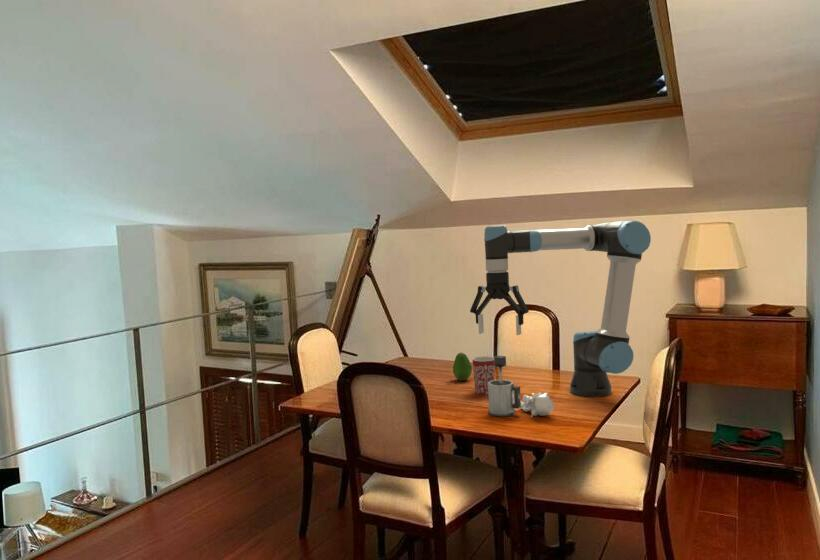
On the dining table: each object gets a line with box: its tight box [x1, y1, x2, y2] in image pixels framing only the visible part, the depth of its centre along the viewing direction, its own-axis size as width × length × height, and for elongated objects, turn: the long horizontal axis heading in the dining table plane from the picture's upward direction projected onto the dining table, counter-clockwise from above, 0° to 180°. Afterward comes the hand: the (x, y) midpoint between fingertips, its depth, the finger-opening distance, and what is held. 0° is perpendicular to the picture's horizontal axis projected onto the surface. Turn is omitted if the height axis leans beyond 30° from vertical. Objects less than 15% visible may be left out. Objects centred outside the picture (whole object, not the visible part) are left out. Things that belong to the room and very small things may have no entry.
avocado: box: [452, 352, 473, 381], centre depth 260 cm, size 8×8×12 cm
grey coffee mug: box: [487, 379, 521, 418], centre depth 210 cm, size 11×9×10 cm
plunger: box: [493, 355, 507, 385], centre depth 210 cm, size 6×6×17 cm
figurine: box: [519, 391, 554, 418], centre depth 209 cm, size 11×7×15 cm
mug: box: [471, 355, 496, 396], centre depth 240 cm, size 13×9×14 cm
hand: (499, 333), depth 209 cm, fingers open, 13 cm apart
